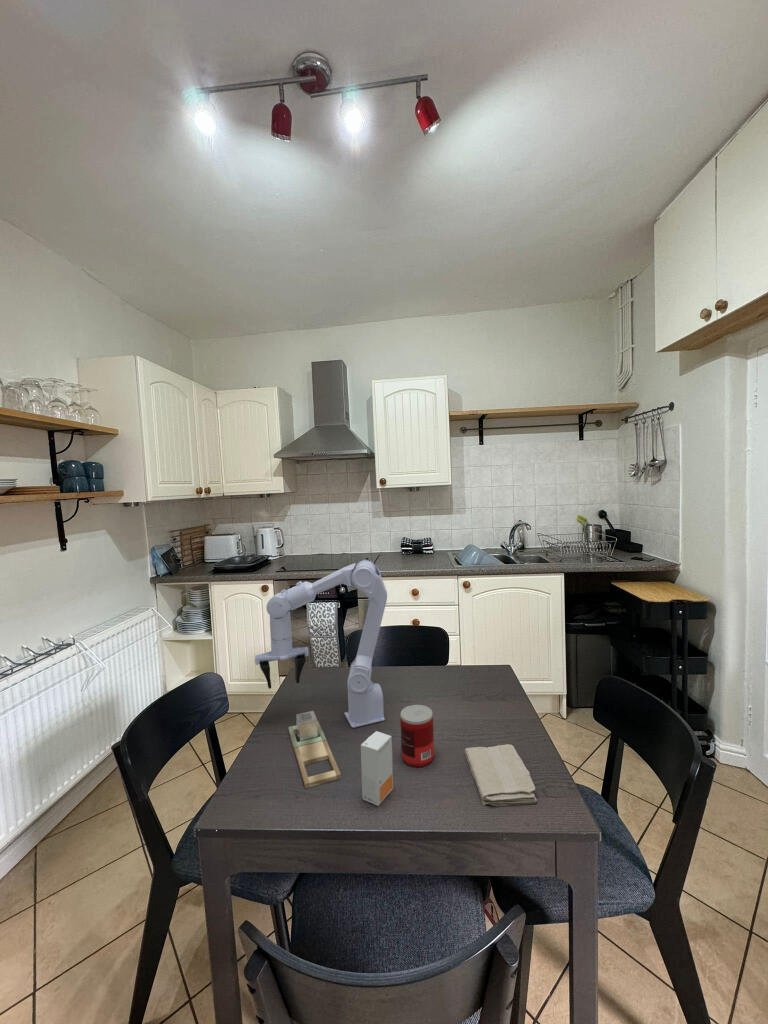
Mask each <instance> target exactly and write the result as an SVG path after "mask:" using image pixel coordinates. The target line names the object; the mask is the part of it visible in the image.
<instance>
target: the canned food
mask: <svg viewBox="0 0 768 1024" xmlns="http://www.w3.org/2000/svg"><path fill="white" fill-rule="evenodd" d="M399 716H400V718H399V719H400V721H399V722H400V742H401V745H400V746H401V757H402V759H403V762H404V763H405V764H406V765H408V766H411V767H416V768H417V767H418V768H419V767H425V766H427V765H429V764H430V763H432V761H433V759H434V756H435V755H434V754H435V747H434V746H435V744H434V743H435V741H434V739H435V736H434V714H433V710H432V709H431V708H430V707H428V706H427V705H422V704H413V705H408V706H405V707H404V708H402V709H401V711H400V715H399Z"/></svg>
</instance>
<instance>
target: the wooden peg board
mask: <svg viewBox="0 0 768 1024" xmlns="http://www.w3.org/2000/svg"><path fill="white" fill-rule="evenodd" d="M288 733H289V737H290V741H291V744H292V748H293V750H294V754H295V756H296V761H297V763H298V764H297V765H298V767H299V771H300V775H301V779H302V782H303V785H304V789H309V788H313V787H315V786H316V787H317V786H319V785H323V784H326V783H330V782H334V781H337V780H340V779H342V774H341V771H340V769H339V767H338V764H337V762H336V759H335V757H334V755H333V753H332V750H331V748H330V746H329V743H328V741H327V738H326V736H325V733H324V731H323V728H322V727H321V724H320V722H319V720H317V733H318V737H317V738H313V739H309V740H304V741H300V742H299V741H298V740H297V737H296V736H297V724H296V725H291V726H288ZM327 760H328V762H329V764H330V767H331V769H332V770H330V771H327V772H322V773H319V774H315V775H311V776H308V773H307V769H306V767H305V766H307V765H311V764H315V763H318V762H321V761H327Z"/></svg>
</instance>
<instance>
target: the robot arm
mask: <svg viewBox="0 0 768 1024" xmlns="http://www.w3.org/2000/svg"><path fill="white" fill-rule="evenodd" d="M380 571H381V570H380V569H379V568H378V567H377V566H376V565H375V563H374V562H373V561H371V560H368V559H363V560H361V561H358V562H357V563H356V562H354V563H351V564H349V565H346V566H344V567H342V568H340V569H338V570H335V571H334V572H332V573H330V574H328V575H326V576H324V577H322V578H320V579H317V580H316V581H314V582H310V581H301V580H300V581H298V582H297V583H295V586H292V587H291V588H289V589H285V588H284V589H282V590H281V591H280V592H277V593H276V594H274V595H273V596H272V597H271V598H270V599H268V601H267V604H266V608H265V609H266V612H267V614H268V615H269V630H270V631H269V633H270V634H269V635H270V646H271V647H270V651H268V652H265V653H261V654H256V655H254V663H255V666H257V665H259V668H260V670H261V672H262V673H263V675H264V677H265V679H266V681H267V687H268V689H269V690H270V689H272V682H271V680H272V679H271V665H270V663H271V662H275V661H284V660H285V661H286V660H288V659H292V658H294V666H295V667H294V669H295V671H294V672H295V674H294V676H295V677H294V678H295V682H296V684H299V683H300V678H301V675H302V674H301V673H302V670H303V668H304V666H305V663H306V660H307V659H306V657H309V656H310V655H309V654H310V653H309V650H310V649H309V647H308V646H303V647H293V637H292V633H293V632H292V620H291V611H294V610H296V609H298V608H300V607H303V606H305V605H307V604H309V603H312V602H313V601H315V599H316V596H317V594H320V593H323V592H325V591H327V590H330V589H332V588H335V587H337V586H339V585H345V586H349V587H352V585H354V586H355V588H358V589H359V590H361V592H363V593H364V594H365V596H366V597H367V598H368V600H369V602H368V607H367V612H366V615H365V619H364V624H363V628H362V631H361V635H360V640H359V644H358V649H357V652H356V657H354V660H353V661H352V662H351V663H350V666H349V674H348V677H347V680H346V681H347V682H346V683H347V702H348V706H347V707H348V711H345V712H344V715H345V718H346V719H347V721H348V723H349V725H350V726H351V728H352V729H354V728H358V727H363V726H366V725H371V724H376V723H379V722H383V721H385V720H386V718H385V716H384V695H383V689H382V687H381V685H380V684H379V683H373V681H372V680H371V678H372V671H373V665H372V662H373V657H374V654H375V649H376V645H377V641H378V637H379V634H380V629H381V624H382V621H383V618H384V617H383V616H384V613H385V608H386V605H387V601H388V590H387V588H386V585H385V583H384V580H383V578H382V575H381V572H380Z"/></svg>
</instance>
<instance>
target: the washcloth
mask: <svg viewBox="0 0 768 1024" xmlns="http://www.w3.org/2000/svg"><path fill="white" fill-rule="evenodd" d="M463 754H464V755H465V758H466V760H467V763H468V766H469V769H470V773H471V775H472V777H473V780H474V781H475V785H476V787H477V790H478V794H479V796H480V800H481V804H482V805H483V806H484V805H485V806H486V805H490V806H494V807H498V806H499V807H501V806H512V805H529V804H536V803H537V802H538V800H537V797H536V794H535V790H536V786H535V783H534V782H533V780H532V778H531V773H530V771H529V770H528V769H527V767H526V766H525V764H524V761H523V760H522V758H521V757H520V756H519V754H518V752H517V750H516V749H515V746H514V745H512V744H508V743H506V744H500V745H495V746H490V747H489V746H488V747H485V746H474V747H473V746H472V747H466V748H465V749H464V752H463Z"/></svg>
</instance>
